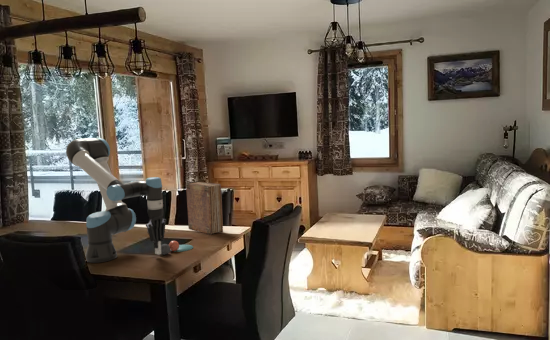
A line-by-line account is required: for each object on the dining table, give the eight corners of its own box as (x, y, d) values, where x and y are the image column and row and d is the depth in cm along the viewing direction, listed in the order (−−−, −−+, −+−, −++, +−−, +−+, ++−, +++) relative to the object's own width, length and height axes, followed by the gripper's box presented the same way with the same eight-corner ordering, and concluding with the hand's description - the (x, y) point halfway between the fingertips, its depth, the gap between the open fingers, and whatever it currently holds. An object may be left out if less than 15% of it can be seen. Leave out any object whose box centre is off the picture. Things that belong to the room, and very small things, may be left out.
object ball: (171, 249, 234) (173, 239, 236) (165, 249, 238) (168, 239, 240) (179, 252, 237) (182, 241, 239) (174, 252, 241) (176, 242, 243)
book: (223, 232, 277) (221, 184, 274) (210, 235, 271) (208, 185, 268) (200, 226, 296) (198, 181, 292) (188, 228, 289) (185, 182, 286)
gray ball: (166, 240, 233) (172, 246, 236) (157, 244, 234) (164, 250, 237) (165, 247, 228) (172, 253, 232) (156, 252, 229) (163, 258, 233)
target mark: (183, 252, 235) (183, 252, 235) (163, 250, 241) (163, 249, 241) (198, 246, 247) (198, 245, 247) (179, 244, 253) (179, 243, 253)
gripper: (152, 211, 218) (155, 258, 220) (169, 206, 229) (172, 251, 232) (140, 210, 221) (143, 256, 224) (158, 205, 233) (161, 249, 235)
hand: (158, 253), depth 228 cm, fingers closed
